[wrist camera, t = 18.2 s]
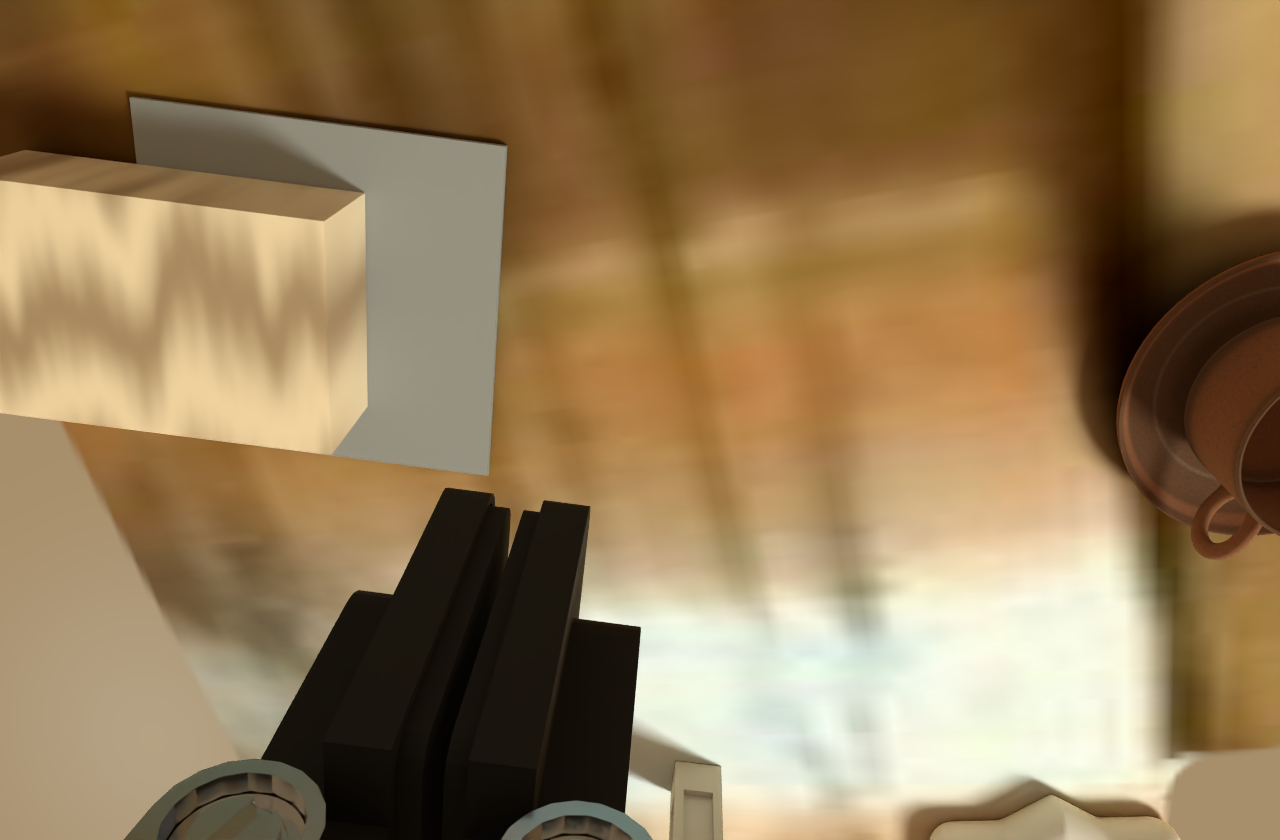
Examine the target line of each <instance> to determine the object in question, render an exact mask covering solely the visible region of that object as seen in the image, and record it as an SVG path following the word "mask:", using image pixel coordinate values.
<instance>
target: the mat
mask: <svg viewBox="0 0 1280 840" xmlns="http://www.w3.org/2000/svg"><path fill="white" fill-rule="evenodd" d="M129 99H130V108H131V117H132V126H133V135H134V144H135V153H136V162H137V164H140V165H148V166H156V167H164V168H172V169H180V170H188V171H196V172H204V173H211V174H219V175H227V176H235V177H243V178H251V179H259V180H267V181H275V182H282V183H290V184H298V185H306V186H314V187H322V188H330V189H338V190H346V191H353V192H361V193H365V229H366V310H367V391H368V407H367V408H366V409H365V411H364V412H363V413H362V415H361V416H360V417H359V419H358V420H357V421H356V423H355V424H354V425H353V427H352V428H351V430H350V431H349V432H348V434H347V435H346V436H345V438H344V439H343V440H342V442H341V443H340V444H339V446H338V447H337V448H336V450H335V451H334V452H333V454H332V456H340V457H347V458H355V459H363V460H370V461H378V462H386V463H393V464H401V465H409V466H416V467H424V468H432V469H439V470H447V471H454V472H462V473H470V474H477V475H485V476H488V474H489V466H490V448H491V430H492V412H493V394H494V376H495V358H496V340H497V322H498V304H499V286H500V268H501V250H502V232H503V214H504V196H505V178H506V160H507V145H501V144H494V143H486V142H478V141H471V140H463V139H455V138H448V137H440V136H433V135H425V134H417V133H410V132H402V131H394V130H387V129H379V128H371V127H364V126H356V125H348V124H341V123H333V122H326V121H318V120H310V119H303V118H295V117H287V116H280V115H272V114H264V113H257V112H249V111H241V110H234V109H226V108H218V107H211V106H203V105H196V104H188V103H180V102H173V101H165V100H157V99H150V98H142V97H134V96H133V97H129ZM255 446H256V445H255ZM263 447H264V446H263ZM278 449H279V448H278ZM286 450H287V449H286ZM294 451H295V450H294ZM301 452H303V451H301ZM309 453H311V452H309ZM317 454H319V453H317ZM324 455H327V454H324Z"/></svg>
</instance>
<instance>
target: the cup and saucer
mask: <svg viewBox="0 0 1280 840" xmlns="http://www.w3.org/2000/svg"><path fill="white" fill-rule="evenodd" d="M1116 424H1117V437H1118V442H1119V448H1120V451H1121V454H1122V458H1123V461H1124V464H1125V466H1126V468H1127V470H1128V473H1129V475H1130V476H1131V478H1132V480H1133V481H1134V483H1135V485H1136V486H1137V487H1138V489H1139V490H1140V491H1141V492H1142V494H1143V495H1144V496H1145V497H1146V498H1147V499H1148V500H1149V501H1150V502H1151V503H1152V504H1153V505H1154V506H1156V507H1157V508H1158V509H1159V510H1161V511H1162V512H1163V513H1165V514H1167V515H1168V516H1170V517H1172V518H1173V519H1175V520H1177V521H1179V522H1182V523H1184V524H1186V525H1189V526H1192V527H1191V539H1192V543H1193V545H1194V547H1195V549H1196V550H1197V552H1198V553H1199V554H1200V555H1202V556H1203V557H1205V558H1208V559H1211V560H1223V559H1227V558H1230V557H1232V556H1234V555H1236V554H1238V553H1239V552H1240V551H1242V550H1243V549H1244V548H1245V547H1246V546H1247V545H1248V544H1249V543H1250V542H1251V541H1252V540H1253V539H1254V538H1255V536H1256V535H1265V534H1274V533H1275V534H1277V535H1279V536H1280V251H1279V252H1274V253H1270V254H1267V255H1263V256H1260V257H1257V258H1254V259H1251V260H1249V261H1246V262H1243V263H1241V264H1238V265H1236V266H1234V267H1232V268H1230V269H1228V270H1226V271H1224V272H1222V273H1220V274H1218V275H1216V276H1215V277H1213V278H1211V279H1209V280H1208V281H1206V282H1205V283H1203V284H1202V285H1200V286H1199V287H1197V288H1196V289H1194V290H1193V291H1191V292H1190V293H1189V294H1188V295H1187V296H1185V297H1184V298H1183V299H1182V300H1180V301H1179V302H1178V303H1177V304H1176V305H1175V306H1174V307H1173V308H1172V309H1170V310H1169V311H1168V312H1167V313H1166V314H1165V315H1164V316H1163V317H1162V319H1161V320H1160V321H1159V322H1158V323H1157V324H1156V325H1155V326H1154V328H1153V329H1152V330H1151V332H1150V333H1149V334H1148V336H1147V337H1146V338H1145V340H1144V341H1143V343H1142V344H1141V346H1140V347H1139V349H1138V351H1137V352H1136V354H1135V356H1134V358H1133V360H1132V362H1131V364H1130V366H1129V368H1128V370H1127V373H1126V375H1125V378H1124V380H1123V384H1122V387H1121V391H1120V395H1119V400H1118V406H1117V420H1116ZM1208 531H1209V532H1213V533H1220V534H1226V535H1233V536H1232V537H1231V538H1229V539H1228V540H1226V541H1225V542H1222V543H1213V542H1212V541H1211V540H1210V539H1209V536H1208Z"/></svg>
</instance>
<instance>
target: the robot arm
mask: <svg viewBox="0 0 1280 840" xmlns="http://www.w3.org/2000/svg"><path fill="white" fill-rule="evenodd" d="M510 516H511V514H510V508H503V507H496V506H495V497H494V494H492V493H484V492H477V491H469V490H461V489H454V488H445V490H444V491H443V493H442V495H441V497H440V499H439V501H438V503H437V505H436V507H435V509H434V511H433V514H432V516H431V518H430V520H429V522H428V524H427V526H426V528H425V530H424V532H423V534H422V536H421V538H420V540H419V543H418V545H417V547H416V549H415V551H414V553H413V555H412V557H411V559H410V561H409V563H408V565H407V567H406V569H405V572H404V574H403V576H402V578H401V580H400V582H399V584H398V586H397V588H396V590H395V592H394V594H393V595H391V594H384V593H376V592H368V591H361V590H358V591H356V592H355V593H353V594H352V596H351V597H350V599H349V600H348V602H347V603H346V605H345V607H344V609H343V611H342V612H341V614H340V616H339V618H338V620H337V621H336V623H335V625H334V627H333V629H332V631H331V632H330V634H329V636H328V638H327V640H326V642H325V643H324V645H323V647H322V649H321V651H320V652H319V654H318V656H317V658H316V660H315V662H314V663H313V665H312V667H311V669H310V671H309V672H308V674H307V676H306V678H305V680H304V682H303V683H302V685H301V687H300V689H299V691H298V692H297V694H296V696H295V698H294V700H293V702H292V703H291V705H290V707H289V709H288V711H287V713H286V714H285V716H284V718H283V720H282V722H281V723H280V725H279V727H278V729H277V731H276V733H275V734H274V736H273V738H272V740H271V742H270V743H269V745H268V747H267V749H266V751H265V753H264V754H263V756H262V758H261V760H260V759H250V760H241V761H231V762H226V763H223V764H220V765H217V766H214V767H211V768H208V769H204V770H202V771H199V772H197V773H196V774H194V775H192V776H190V777H189V778H187V779H185V780H183V781H181V782H180V783H178V784H176V785H175V786H173V787H172V788H171V789H170V790H169V791H168V792H167V793H166V794H165V795H164V796H163V797H161V798H160V799H159V800H158V801H157V802H156V803H155V804H154V805H153V806H152V807H151V808H150V809H149V810H148V812H147V813H146V814H145V815H144V817H143V818H142V819H141V820H140V821H139V822H138V823H137V825H136V826H135V827H134V828H133V829H132V830H131V832H130V833H129V834H128V835H127V836H126V838H125V839H124V840H653V839H652V838H651V836H650V835H649V834H648V832H647V831H646V830H645V828H643V827H642V826H641V825H639V824H638V823H637V822H635V821H634V820H633V819H631V818H630V817H629V816H628V815H626V814H625V806H626V794H627V783H628V771H629V760H630V748H631V737H632V725H633V714H634V703H635V691H636V680H637V668H638V657H639V645H640V633H641V627H637V626H629V625H621V624H614V623H606V622H598V621H591V620H583V619H579V610H580V601H581V592H582V583H583V574H584V565H585V556H586V547H587V538H588V529H589V519H590V506H584V505H576V504H569V503H561V502H553V501H546V500H545V501H543V504H542V507H541V511H540V512H534V511H526V510H524V511H523V514H522V516H521V520H520V523H519V526H518V529H517V532H516V535H515V538H514V541H513V545H512V548H511V551H510V554H509V557H508V548H509V533H510Z"/></svg>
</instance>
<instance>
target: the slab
mask: <svg viewBox="0 0 1280 840" xmlns="http://www.w3.org/2000/svg"><path fill="white" fill-rule="evenodd" d="M367 407H368V391H367V310H366V229H365V193H361V192H353V191H346V190H338V189H330V188H322V187H314V186H306V185H298V184H290V183H282V182H275V181H267V180H259V179H251V178H243V177H235V176H227V175H219V174H211V173H204V172H196V171H188V170H180V169H172V168H164V167H156V166H148V165H140V164H132V163H125V162H117V161H109V160H101V159H93V158H85V157H77V156H69V155H61V154H54V153H46V152H38V151H30V150H23V151H19V152H16V153H12V154H9V155H5V156H2V157H0V413H4V414H12V415H20V416H27V417H35V418H44V419H51V420H59V421H67V422H75V423H83V424H90V425H98V426H106V427H114V428H122V429H130V430H138V431H145V432H153V433H161V434H169V435H177V436H185V437H193V438H201V439H208V440H216V441H224V442H232V443H240V444H248V445H256V446H264V447H271V448H279V449H287V450H295V451H303V452H311V453H319V454H327V455H332V454H333V452H334V451H335V450H336V448H337V447H338V446H339V444H340V443H341V442H342V440H343V439H344V438H345V436H346V435H347V434H348V432H349V431H350V430H351V428H352V427H353V425H354V424H355V423H356V421H357V420H358V419H359V417H360V416H361V415H362V413H363V412H364V411H365V409H366V408H367Z"/></svg>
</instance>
